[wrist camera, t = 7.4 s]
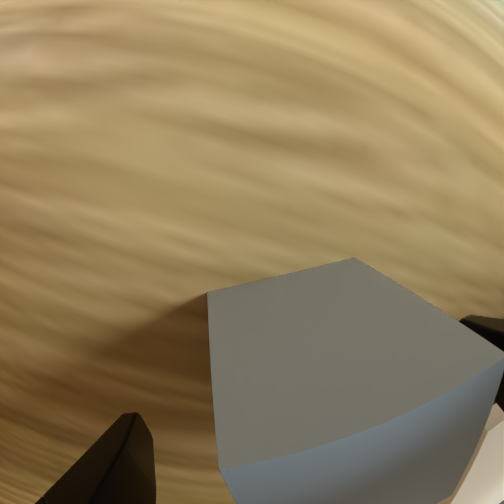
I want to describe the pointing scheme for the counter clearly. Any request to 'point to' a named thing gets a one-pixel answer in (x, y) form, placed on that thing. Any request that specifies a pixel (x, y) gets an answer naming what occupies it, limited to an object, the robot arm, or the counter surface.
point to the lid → (484, 467)
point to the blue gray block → (344, 389)
